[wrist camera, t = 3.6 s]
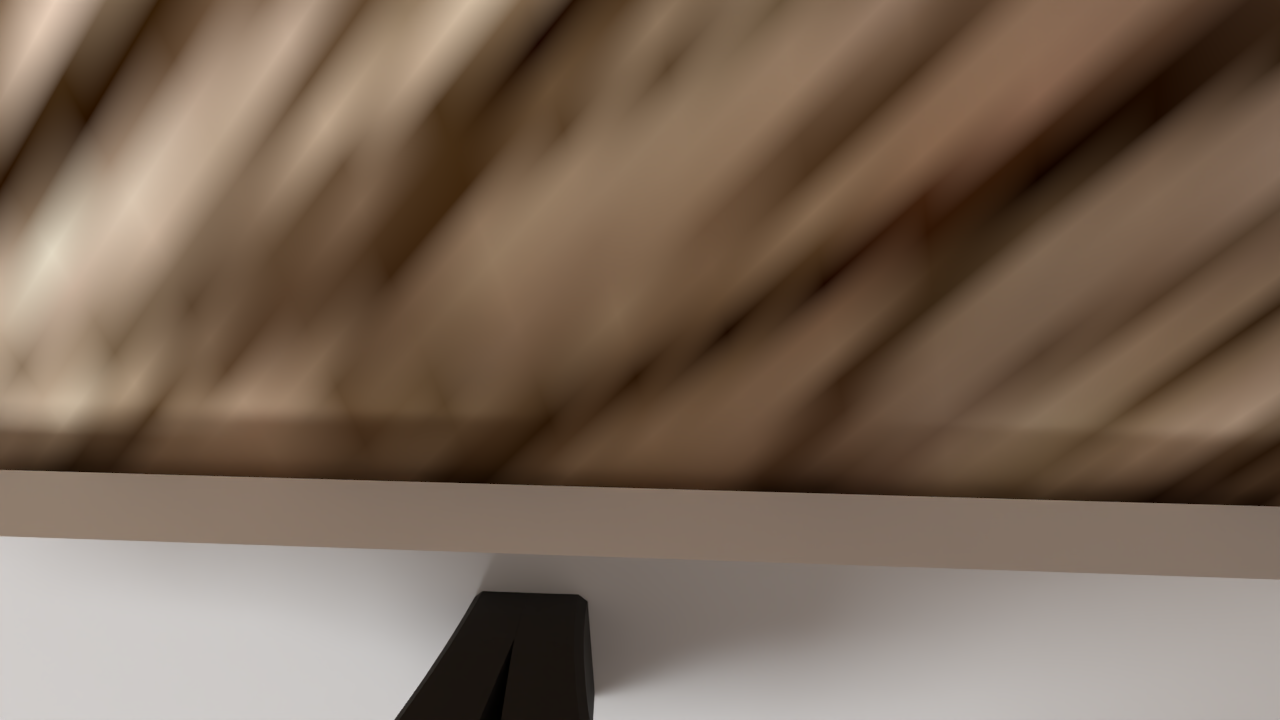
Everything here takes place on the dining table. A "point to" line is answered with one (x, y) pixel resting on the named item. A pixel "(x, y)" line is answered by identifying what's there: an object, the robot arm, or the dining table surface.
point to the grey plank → (630, 599)
